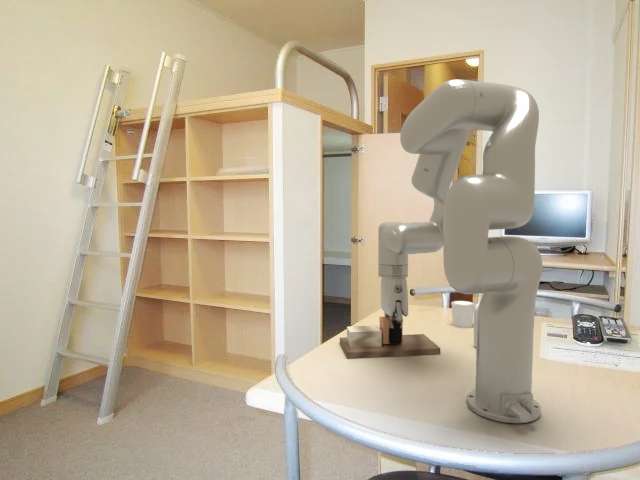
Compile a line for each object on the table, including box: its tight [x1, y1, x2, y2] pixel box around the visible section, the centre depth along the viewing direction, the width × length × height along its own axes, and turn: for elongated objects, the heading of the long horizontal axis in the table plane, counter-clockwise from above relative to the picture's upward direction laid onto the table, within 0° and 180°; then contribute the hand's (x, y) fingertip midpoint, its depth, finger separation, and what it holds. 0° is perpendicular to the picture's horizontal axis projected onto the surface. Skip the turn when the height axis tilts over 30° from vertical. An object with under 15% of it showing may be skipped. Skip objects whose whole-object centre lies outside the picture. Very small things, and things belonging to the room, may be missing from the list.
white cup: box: [450, 300, 476, 329], centre depth 136 cm, size 7×7×7 cm
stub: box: [379, 316, 404, 344], centre depth 115 cm, size 5×4×6 cm
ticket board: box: [339, 324, 441, 360], centre depth 115 cm, size 24×12×6 cm, turn 96°
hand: (392, 339), depth 115 cm, fingers closed on stub, 4 cm apart
